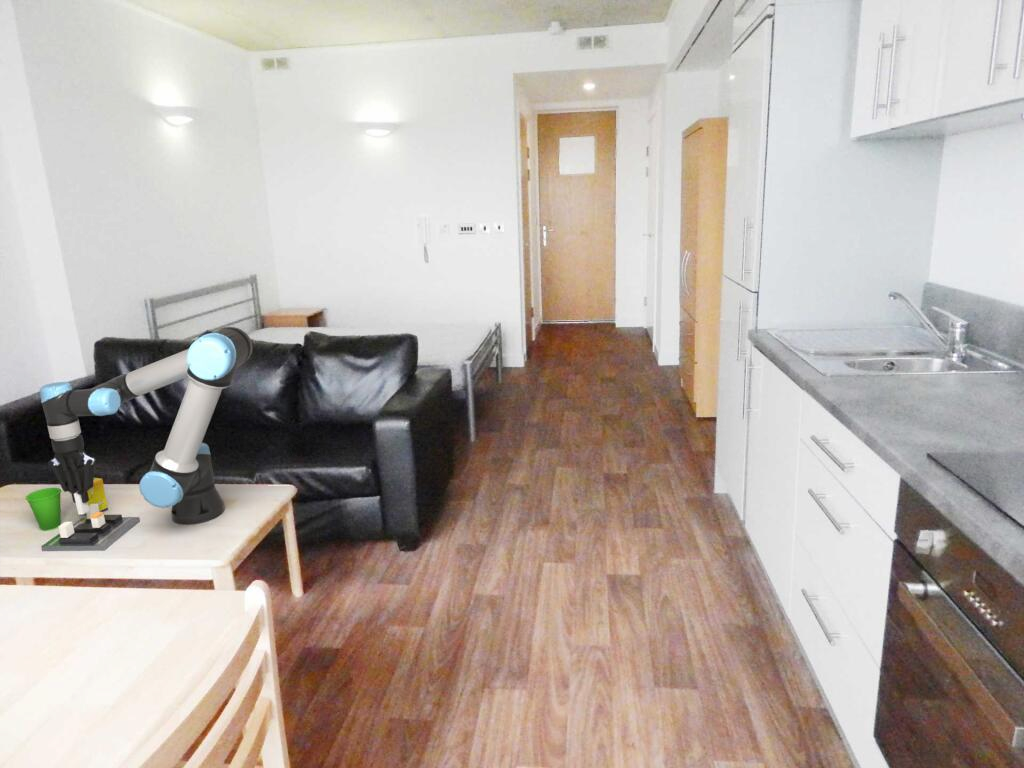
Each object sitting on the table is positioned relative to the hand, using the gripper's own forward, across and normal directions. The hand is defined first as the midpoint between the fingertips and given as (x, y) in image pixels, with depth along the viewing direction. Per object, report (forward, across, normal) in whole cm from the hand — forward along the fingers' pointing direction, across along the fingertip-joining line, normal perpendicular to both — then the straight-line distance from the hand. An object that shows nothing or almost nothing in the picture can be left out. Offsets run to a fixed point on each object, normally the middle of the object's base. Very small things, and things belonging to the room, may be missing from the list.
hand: (83, 512), depth 198 cm
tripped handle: (+4, -4, 0) cm, 6 cm away
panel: (+8, -1, 0) cm, 8 cm away
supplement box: (+8, +9, -16) cm, 20 cm away
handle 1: (+4, +2, +6) cm, 8 cm away
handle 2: (+4, +2, -6) cm, 8 cm away
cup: (+7, +16, -6) cm, 18 cm away
